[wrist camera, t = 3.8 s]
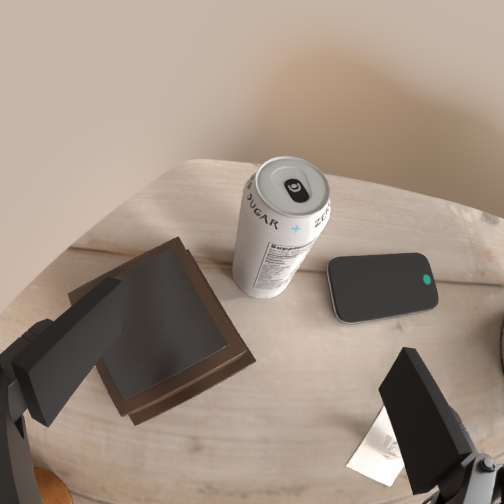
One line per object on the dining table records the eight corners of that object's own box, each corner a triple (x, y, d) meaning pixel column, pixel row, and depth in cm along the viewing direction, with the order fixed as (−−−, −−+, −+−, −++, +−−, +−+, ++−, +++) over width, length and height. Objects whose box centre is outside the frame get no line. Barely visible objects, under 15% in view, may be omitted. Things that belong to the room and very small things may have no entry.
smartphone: (441, 306, 31) (338, 324, 29) (437, 308, 32) (335, 326, 30) (426, 251, 34) (325, 256, 32) (422, 254, 35) (323, 260, 33)
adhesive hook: (371, 452, 24) (386, 456, 21) (384, 432, 25) (399, 434, 22) (390, 461, 23) (405, 466, 21) (402, 442, 24) (418, 444, 22)
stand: (189, 255, 31) (183, 218, 25) (254, 362, 27) (266, 354, 21) (84, 309, 27) (52, 286, 21) (139, 424, 23) (115, 434, 17)
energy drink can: (273, 241, 33) (310, 143, 20) (297, 289, 31) (356, 210, 18) (223, 258, 32) (230, 159, 18) (244, 309, 30) (270, 238, 16)
